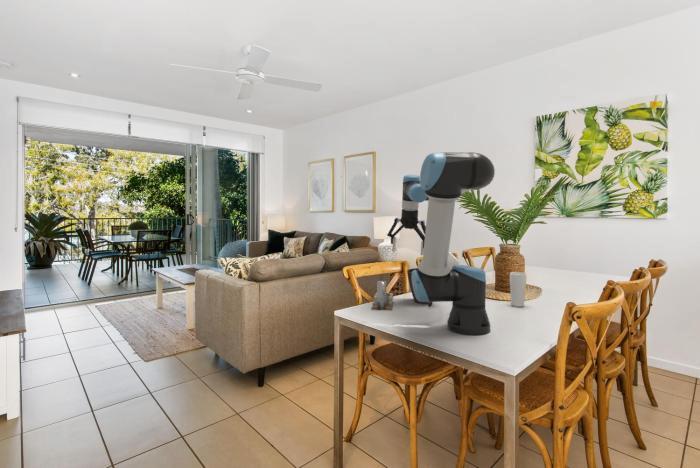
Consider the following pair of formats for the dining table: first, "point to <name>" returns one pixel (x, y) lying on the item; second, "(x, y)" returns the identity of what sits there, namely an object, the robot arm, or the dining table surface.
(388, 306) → the socket board
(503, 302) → the dining table surface
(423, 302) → the plant pot
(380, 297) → the pin
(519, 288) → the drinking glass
